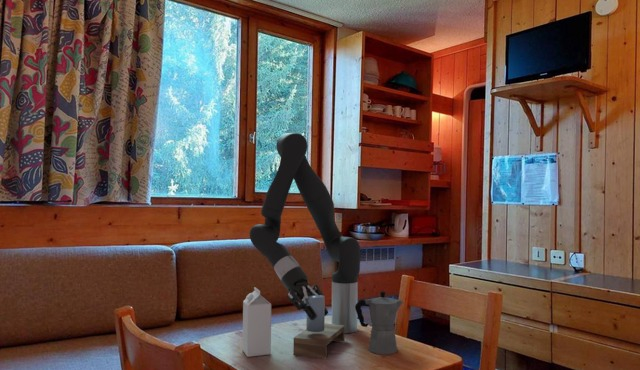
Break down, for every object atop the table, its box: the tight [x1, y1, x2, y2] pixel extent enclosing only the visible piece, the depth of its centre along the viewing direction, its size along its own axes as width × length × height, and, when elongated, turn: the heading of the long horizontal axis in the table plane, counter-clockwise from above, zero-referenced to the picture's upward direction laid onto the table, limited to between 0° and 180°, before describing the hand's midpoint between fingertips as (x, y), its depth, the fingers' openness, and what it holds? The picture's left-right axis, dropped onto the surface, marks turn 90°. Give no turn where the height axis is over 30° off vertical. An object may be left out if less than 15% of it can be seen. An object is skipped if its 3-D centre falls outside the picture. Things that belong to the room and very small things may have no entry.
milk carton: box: [242, 287, 272, 358], centre depth 139 cm, size 7×7×19 cm
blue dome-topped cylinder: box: [305, 295, 326, 332], centre depth 141 cm, size 6×6×10 cm
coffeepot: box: [355, 290, 404, 355], centre depth 142 cm, size 15×9×18 cm, turn 101°
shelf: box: [292, 322, 346, 360], centre depth 144 cm, size 19×10×5 cm, turn 159°
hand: (320, 316), depth 140 cm, fingers closed on blue dome-topped cylinder, 5 cm apart
